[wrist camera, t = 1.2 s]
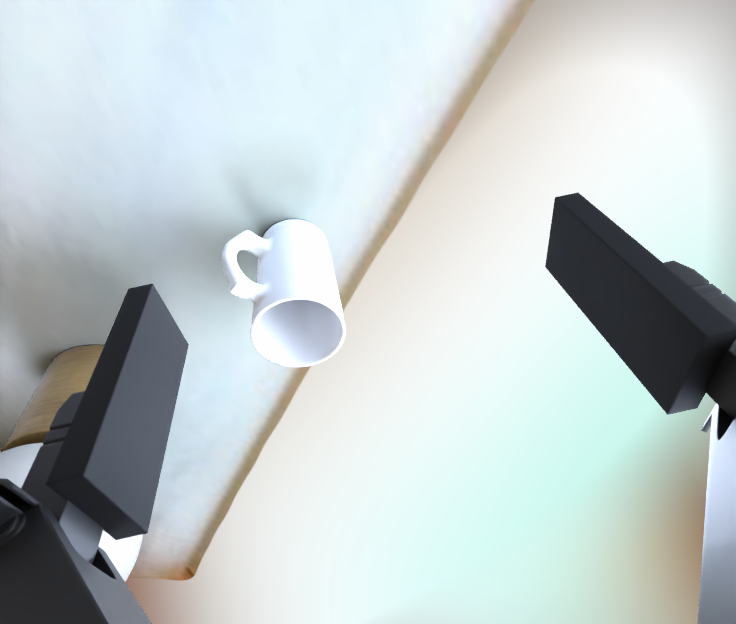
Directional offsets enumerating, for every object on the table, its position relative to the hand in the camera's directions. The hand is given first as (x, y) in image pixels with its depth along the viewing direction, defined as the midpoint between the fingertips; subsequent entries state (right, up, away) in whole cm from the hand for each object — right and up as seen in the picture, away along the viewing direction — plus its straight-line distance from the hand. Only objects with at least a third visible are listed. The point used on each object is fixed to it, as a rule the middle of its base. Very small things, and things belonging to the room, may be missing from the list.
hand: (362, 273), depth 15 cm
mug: (-8, +5, +26) cm, 27 cm away
